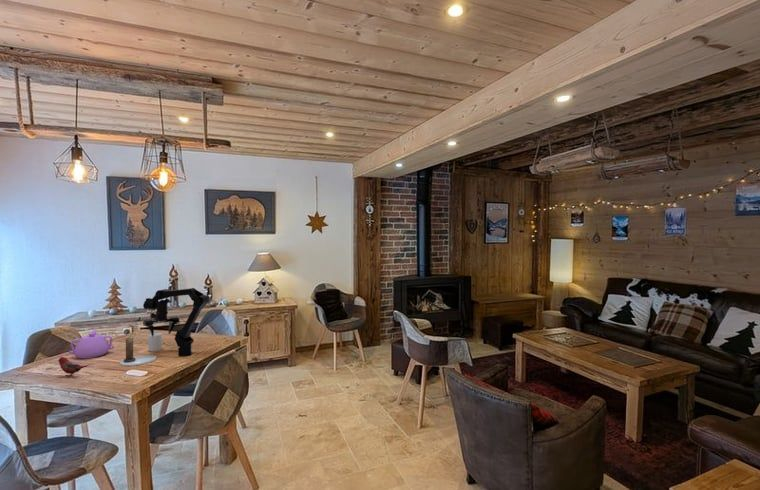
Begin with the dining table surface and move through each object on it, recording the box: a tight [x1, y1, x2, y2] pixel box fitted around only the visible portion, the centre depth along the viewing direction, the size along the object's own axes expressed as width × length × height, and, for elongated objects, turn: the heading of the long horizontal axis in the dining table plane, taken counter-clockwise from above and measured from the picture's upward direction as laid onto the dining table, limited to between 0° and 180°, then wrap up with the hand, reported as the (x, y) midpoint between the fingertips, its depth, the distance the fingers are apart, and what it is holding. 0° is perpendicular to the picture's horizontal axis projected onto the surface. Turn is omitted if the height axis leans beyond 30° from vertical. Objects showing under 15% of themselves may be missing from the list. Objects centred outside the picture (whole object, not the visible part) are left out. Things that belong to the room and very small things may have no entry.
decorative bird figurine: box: [57, 356, 90, 377], centre depth 189 cm, size 3×18×10 cm, turn 84°
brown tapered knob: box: [123, 337, 135, 363], centre depth 211 cm, size 6×6×13 cm
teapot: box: [68, 328, 115, 359], centre depth 226 cm, size 22×22×14 cm
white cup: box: [147, 332, 163, 352], centre depth 236 cm, size 8×8×10 cm
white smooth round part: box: [119, 354, 157, 367], centre depth 214 cm, size 18×18×1 cm
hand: (161, 335), depth 227 cm, fingers open, 9 cm apart
